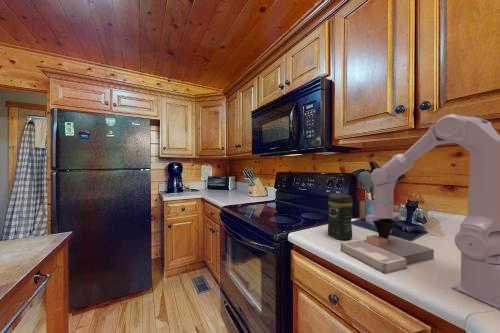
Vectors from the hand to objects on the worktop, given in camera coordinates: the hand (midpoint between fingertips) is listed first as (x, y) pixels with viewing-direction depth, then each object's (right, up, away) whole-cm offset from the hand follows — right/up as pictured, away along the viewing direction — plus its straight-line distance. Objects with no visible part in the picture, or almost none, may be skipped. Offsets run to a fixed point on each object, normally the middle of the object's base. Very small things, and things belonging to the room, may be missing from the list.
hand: (383, 239), depth 72 cm
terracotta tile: (-3, -1, -1) cm, 3 cm away
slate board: (+3, -4, -2) cm, 6 cm away
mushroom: (+14, -4, +18) cm, 23 cm away
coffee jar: (-9, -4, +14) cm, 18 cm away
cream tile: (-8, -2, -10) cm, 13 cm away
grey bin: (-8, -4, -6) cm, 11 cm away
